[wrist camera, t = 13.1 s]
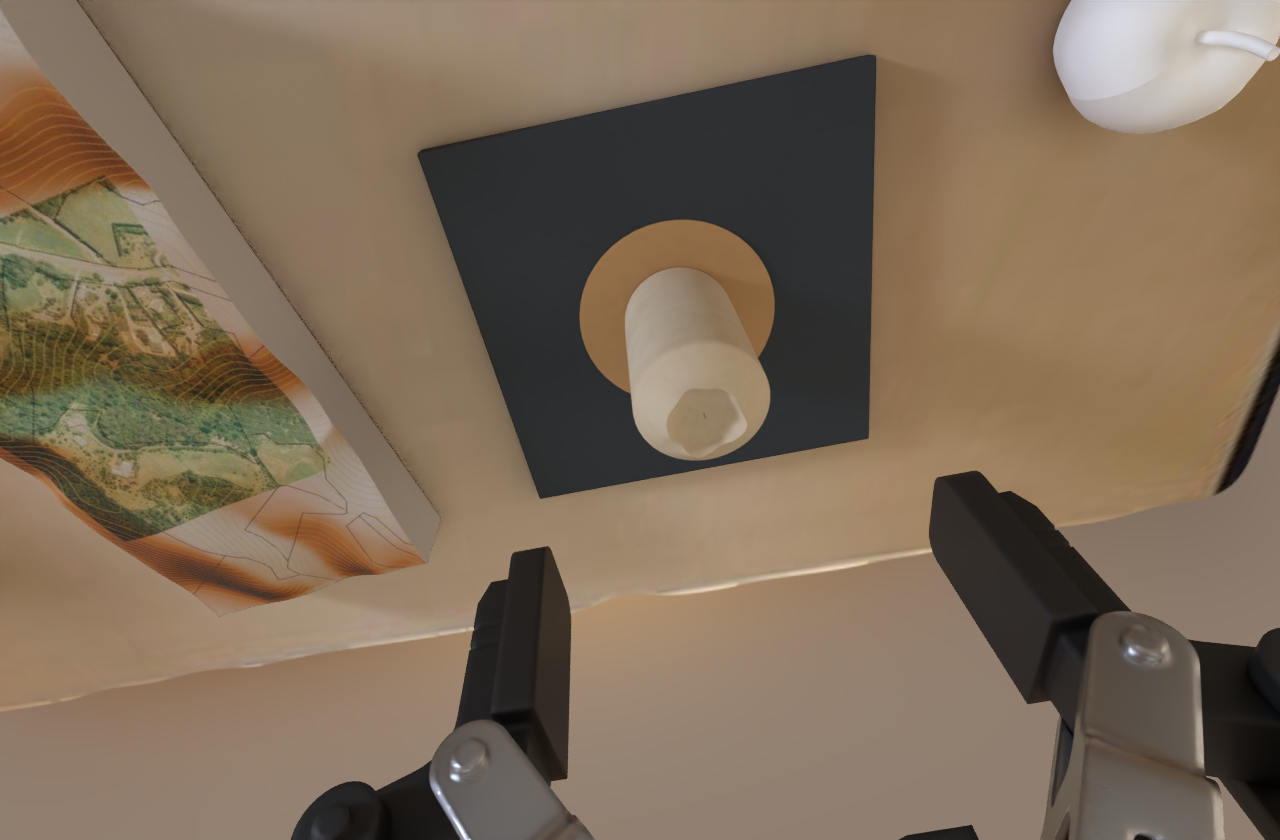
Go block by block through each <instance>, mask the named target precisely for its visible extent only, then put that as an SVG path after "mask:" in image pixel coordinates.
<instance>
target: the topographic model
mask: <svg viewBox="0 0 1280 840" xmlns="http://www.w3.org/2000/svg"><path fill="white" fill-rule="evenodd" d="M0 458H2V459H4V460H5V461H7V462H9V463H11V464H13V465H15V466H16V467H18V468H20V469H22V470H24V471H25V472H27V473H29V474H31V475H32V476H34V477H35V478H37V479H38V480H39V481H40V482H41V483H42V484H43V485H44V486H45V487H46V488H47V490H48V491H49V492H50V493H51V494H52V495H53V496H54V498H55V499H56V500H57V501H58V502H59V503H60V504H61V505H63V506H64V507H65V508H66V509H67V510H69V511H70V512H71V513H72V514H74V515H75V516H76V517H77V518H79V519H80V520H81V521H83V522H84V523H85V524H86V525H88V526H89V527H90V528H91V529H93V530H94V531H96V532H97V533H98V534H100V535H101V536H103V537H104V538H106V539H107V540H109V541H110V542H112V543H113V544H115V545H117V546H118V547H120V548H121V549H123V550H124V551H126V552H128V553H129V554H131V555H132V556H134V557H135V558H137V559H138V560H140V561H141V562H143V563H144V564H146V565H147V566H149V567H150V568H152V569H153V570H155V571H156V572H158V573H159V574H161V575H163V576H164V577H166V578H168V579H170V580H171V581H173V582H175V583H177V584H178V585H180V586H182V587H183V588H185V589H186V590H188V591H189V592H191V593H192V594H193V595H194V596H196V597H197V598H198V599H199V600H201V601H202V602H203V603H204V604H205V605H206V606H208V607H209V608H210V609H211V610H212V611H213V612H214V613H215V614H216V615H217V616H219V617H222V616H225V615H228V614H231V613H234V612H237V611H241V610H244V609H247V608H251V607H255V606H259V605H263V604H267V603H273V602H279V601H284V600H289V599H293V598H296V597H299V596H302V595H305V594H308V593H311V592H314V591H316V590H319V589H321V588H323V587H326V586H328V585H330V584H333V583H335V582H337V581H340V580H342V579H345V578H348V577H352V576H358V575H378V574H384V573H388V572H391V571H394V570H398V569H402V568H406V567H411V566H416V565H420V564H425V563H428V560H429V556H430V553H431V550H432V547H433V543H434V540H435V537H436V533H437V530H438V527H439V523H440V520H441V517H440V516H439V515H438V513H437V512H436V510H435V509H434V508H433V506H432V505H431V503H430V502H429V500H428V499H427V498H426V496H425V495H424V493H423V492H422V490H421V489H420V488H419V486H418V485H417V483H416V482H415V481H414V479H413V478H412V476H411V475H410V473H409V472H408V471H407V469H406V468H405V466H404V465H403V463H402V462H401V461H400V459H399V458H398V456H397V455H396V454H395V452H394V451H393V449H392V448H391V446H390V445H389V444H388V442H387V441H386V439H385V438H384V436H383V435H382V434H381V432H380V431H379V429H378V428H377V427H376V425H375V424H374V422H373V421H372V419H371V418H370V417H369V415H368V414H367V412H366V411H365V409H364V408H363V407H362V405H361V404H360V402H359V401H358V400H357V398H356V397H355V395H354V394H353V392H352V391H351V390H350V388H349V387H348V385H347V384H346V382H345V381H344V380H343V378H342V377H341V375H340V374H339V373H338V371H337V370H336V368H335V367H334V365H333V364H332V363H331V361H330V360H329V358H328V357H327V355H326V354H325V353H324V351H323V350H322V348H321V347H320V346H319V344H318V343H317V341H316V340H315V338H314V337H313V336H312V334H311V333H310V331H309V330H308V328H307V327H306V326H305V324H304V323H303V321H302V320H301V319H300V317H299V316H298V314H297V313H296V311H295V310H294V309H293V307H292V306H291V304H290V303H289V301H288V300H287V299H286V297H285V296H284V294H283V293H282V292H281V290H280V289H279V287H278V286H277V284H276V283H275V282H274V280H273V279H272V277H271V276H270V274H269V273H268V272H267V270H266V269H265V267H264V266H263V265H262V263H261V262H260V260H259V259H258V257H257V256H256V255H255V253H254V252H253V250H252V249H251V247H250V246H249V245H248V243H247V242H246V240H245V239H244V238H243V236H242V235H241V233H240V232H239V230H238V229H237V228H236V226H235V225H234V223H233V222H232V220H231V219H230V218H229V216H228V215H227V213H226V212H225V211H224V209H223V208H222V206H221V205H220V203H219V202H218V201H217V199H216V198H215V196H214V195H213V193H212V192H211V191H210V189H209V188H208V186H207V185H206V184H205V182H204V181H203V179H202V178H201V176H200V175H199V174H198V172H197V171H196V169H195V168H194V166H193V165H192V164H191V162H190V161H189V159H188V158H187V157H186V155H185V154H184V152H183V151H182V149H181V148H180V147H179V145H178V144H177V142H176V141H175V139H174V138H173V137H172V135H171V134H170V132H169V131H168V130H167V128H166V127H165V125H164V124H163V122H162V121H161V120H160V118H159V117H158V115H157V114H156V112H155V111H154V110H153V108H152V107H151V105H150V104H149V103H148V101H147V100H146V98H145V97H144V95H143V94H142V93H141V91H140V90H139V88H138V87H137V85H136V84H135V83H134V81H133V80H132V78H131V77H130V76H129V74H128V73H127V71H126V70H125V68H124V67H123V66H122V64H121V63H120V61H119V60H118V59H117V57H116V56H115V54H114V53H113V51H112V50H111V49H110V47H109V46H108V44H107V43H106V41H105V40H104V39H103V37H102V36H101V34H100V33H99V32H98V30H97V29H96V27H95V26H94V24H93V23H92V22H91V20H90V19H89V17H88V16H87V14H86V13H85V12H84V10H83V9H82V7H81V6H80V5H79V3H78V2H77V0H0Z"/></svg>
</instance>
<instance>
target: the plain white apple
mask: <svg viewBox="0 0 1280 840" xmlns="http://www.w3.org/2000/svg"><path fill="white" fill-rule="evenodd" d="M1279 36H1280V0H1071V2H1070V3H1069V5H1068V7H1067V9H1066V10H1065V12H1064V14H1063V16H1062V19H1061V21H1060V24H1059V26H1058V29H1057V33H1056V36H1055V40H1054V46H1053V57H1054V64H1055V67H1056V70H1057V73H1058V76H1059V78H1060V80H1061V82H1062V84H1063V86H1064V88H1065V90H1066V93H1067V95H1068V97H1069V99H1070V101H1071V103H1072V104H1073V106H1074V107H1075V108H1076V109H1077V110H1078V111H1079V112H1080V114H1081V115H1082V116H1083V117H1084V118H1085V119H1087V120H1089V121H1091V122H1093V123H1095V124H1097V125H1098V126H1100V127H1102V128H1104V129H1108V130H1112V131H1116V132H1120V133H1124V134H1150V133H1155V132H1160V131H1164V130H1169V129H1173V128H1176V127H1179V126H1183V125H1186V124H1189V123H1192V122H1194V121H1197V120H1199V119H1201V118H1203V117H1205V116H1207V115H1209V114H1211V113H1213V112H1215V111H1217V110H1219V109H1220V108H1222V107H1223V106H1225V105H1226V104H1227V103H1228V102H1229V101H1230V100H1231V99H1233V98H1234V97H1235V96H1236V95H1237V94H1238V93H1239V92H1240V91H1241V90H1242V89H1243V88H1244V86H1245V85H1246V84H1247V83H1248V82H1249V80H1250V79H1251V78H1252V77H1253V76H1254V74H1255V73H1256V72H1257V71H1258V69H1259V68H1260V67H1261V66H1262V64H1263V63H1264V62H1265V60H1267V61H1272V60H1274V59H1275V58H1276V57H1277V56H1278V55H1279V53H1280V48H1279V47H1277V46H1275V45H1276V44H1277V42H1278V39H1279Z"/></svg>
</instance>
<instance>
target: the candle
mask: <svg viewBox="0 0 1280 840" xmlns="http://www.w3.org/2000/svg"><path fill="white" fill-rule="evenodd" d="M625 337H626V347H627V357H628V368H629V378H630V389H631V399H632V409H633V417H634V420H635V424H636V426H637V428H638V430H639V432H640V433H641V435H642V436H643V438H644V439H645V440H646V441H647V442H648V443H649V444H650V445H651V446H652V447H654V448H655V449H657V450H658V451H660V452H662V453H664V454H666V455H668V456H671V457H674V458H678V459H683V460H708V459H713V458H717V457H720V456H723V455H726V454H728V453H730V452H732V451H734V450H736V449H738V448H739V447H741V446H742V445H744V444H745V443H746V442H748V441H749V440H750V439H751V438H752V437H753V436H754V435H755V433H756V432H757V431H758V430H759V428H760V427H761V425H762V424H763V422H764V420H765V418H766V416H767V413H768V409H769V404H770V387H769V383H768V380H767V377H766V375H765V372H764V370H763V368H762V366H761V364H760V362H759V360H758V358H757V356H756V353H755V351H754V349H753V347H752V345H751V343H750V341H749V339H748V337H747V334H746V332H745V330H744V328H743V326H742V324H741V322H740V320H739V318H738V315H737V313H736V311H735V309H734V307H733V305H732V303H731V301H730V299H729V297H728V295H727V293H726V292H725V290H724V289H723V287H722V286H721V285H720V284H719V283H718V282H717V281H716V280H715V279H713V278H712V277H711V276H709V275H708V274H706V273H704V272H701V271H699V270H696V269H692V268H685V267H677V268H670V269H666V270H662V271H660V272H657V273H655V274H654V275H652V276H650V277H649V278H647V279H646V280H644V281H643V282H642V283H641V284H640V285H639V286H638V287H637V289H636V290H635V291H634V293H633V294H632V296H631V298H630V300H629V302H628V306H627V309H626V313H625Z"/></svg>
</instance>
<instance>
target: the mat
mask: <svg viewBox="0 0 1280 840" xmlns="http://www.w3.org/2000/svg"><path fill="white" fill-rule="evenodd" d="M875 89H876V56H874V55H865V56H860V57H855V58H850V59H846V60H841V61H836V62H832V63H827V64H822V65H818V66H813V67H808V68H804V69H799V70H794V71H790V72H785V73H780V74H776V75H771V76H766V77H762V78H757V79H752V80H747V81H743V82H738V83H733V84H729V85H724V86H719V87H715V88H710V89H705V90H701V91H696V92H691V93H687V94H682V95H677V96H673V97H668V98H663V99H659V100H654V101H649V102H644V103H640V104H635V105H630V106H626V107H621V108H616V109H612V110H607V111H602V112H598V113H593V114H588V115H584V116H579V117H574V118H570V119H565V120H560V121H556V122H551V123H546V124H541V125H537V126H532V127H527V128H523V129H518V130H513V131H509V132H504V133H499V134H495V135H490V136H485V137H481V138H476V139H471V140H467V141H462V142H457V143H453V144H448V145H443V146H438V147H434V148H429V149H424V150H421V151H420V152H419V153H418V158H419V161H420V163H421V166H422V169H423V172H424V175H425V177H426V180H427V183H428V186H429V189H430V191H431V194H432V197H433V200H434V203H435V205H436V208H437V211H438V214H439V217H440V219H441V222H442V225H443V228H444V231H445V233H446V236H447V239H448V242H449V245H450V248H451V250H452V253H453V256H454V259H455V262H456V264H457V267H458V270H459V273H460V276H461V278H462V281H463V284H464V287H465V290H466V292H467V295H468V298H469V301H470V304H471V306H472V309H473V312H474V315H475V318H476V320H477V323H478V326H479V329H480V332H481V334H482V337H483V340H484V343H485V346H486V349H487V351H488V354H489V357H490V360H491V363H492V365H493V368H494V371H495V374H496V377H497V379H498V382H499V385H500V388H501V391H502V393H503V396H504V399H505V402H506V405H507V407H508V410H509V413H510V416H511V419H512V421H513V424H514V427H515V430H516V433H517V435H518V438H519V441H520V444H521V447H522V450H523V452H524V455H525V458H526V461H527V464H528V466H529V469H530V472H531V475H532V478H533V480H534V483H535V486H536V489H537V492H538V494H539V497H540V499H542V498H547V497H552V496H558V495H563V494H569V493H574V492H580V491H585V490H591V489H596V488H601V487H607V486H612V485H618V484H623V483H629V482H634V481H640V480H645V479H650V478H656V477H661V476H667V475H672V474H678V473H683V472H688V471H694V470H699V469H705V468H710V467H716V466H721V465H727V464H732V463H737V462H743V461H748V460H754V459H759V458H765V457H770V456H776V455H781V454H786V453H792V452H797V451H803V450H808V449H814V448H819V447H825V446H830V445H835V444H841V443H846V442H852V441H857V440H863V439H868V438H869V391H870V341H871V290H872V240H873V190H874V140H875ZM677 267H685V268H692V269H696V270H699V271H701V272H704V273H706V274H708V275H709V276H711V277H712V278H713V279H715V280H716V281H717V282H718V283H719V284H720V285H721V286H722V287H723V289H724V290H725V292H726V293H727V295H728V297H729V299H730V301H731V303H732V305H733V307H734V309H735V311H736V313H737V315H738V318H739V320H740V322H741V324H742V326H743V328H744V330H745V332H746V334H747V337H748V339H749V341H750V343H751V345H752V347H753V349H754V351H755V353H756V356H757V358H758V360H759V362H760V364H761V366H762V368H763V370H764V372H765V375H766V377H767V380H768V383H769V387H770V404H769V409H768V413H767V416H766V418H765V420H764V422H763V424H762V425H761V427H760V428H759V430H758V431H757V432H756V433H755V435H754V436H753V437H752V438H751V439H750V440H749V441H748V442H746V443H745V444H744V445H742V446H741V447H739V448H738V449H736V450H734V451H732V452H730V453H728V454H726V455H723V456H720V457H717V458H713V459H708V460H683V459H678V458H674V457H671V456H668V455H666V454H664V453H662V452H660V451H658V450H657V449H655V448H654V447H652V446H651V445H650V444H649V443H648V442H647V441H646V440H645V439H644V438H643V436H642V435H641V433H640V432H639V430H638V428H637V426H636V424H635V420H634V417H633V409H632V399H631V389H630V378H629V368H628V357H627V347H626V337H625V313H626V309H627V306H628V302H629V300H630V298H631V296H632V294H633V293H634V291H635V290H636V289H637V287H638V286H639V285H640V284H641V283H642V282H643V281H644V280H646V279H647V278H649V277H650V276H652V275H654V274H655V273H657V272H660V271H662V270H666V269H670V268H677Z"/></svg>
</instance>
